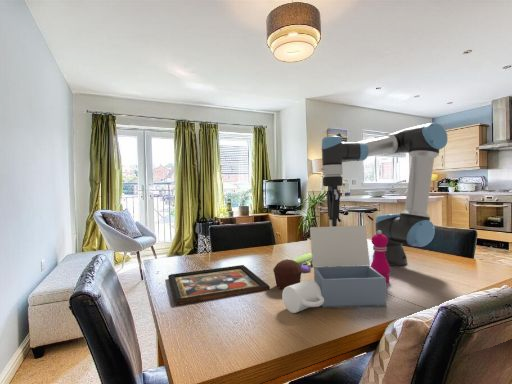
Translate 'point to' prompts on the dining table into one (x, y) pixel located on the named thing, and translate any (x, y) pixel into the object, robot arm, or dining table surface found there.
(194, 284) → the framed painting
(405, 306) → the dining table surface
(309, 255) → the figurine
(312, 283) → the mug
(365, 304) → the box
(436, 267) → the dining table surface
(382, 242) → the pepper mill
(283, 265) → the muffin
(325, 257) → the lid
